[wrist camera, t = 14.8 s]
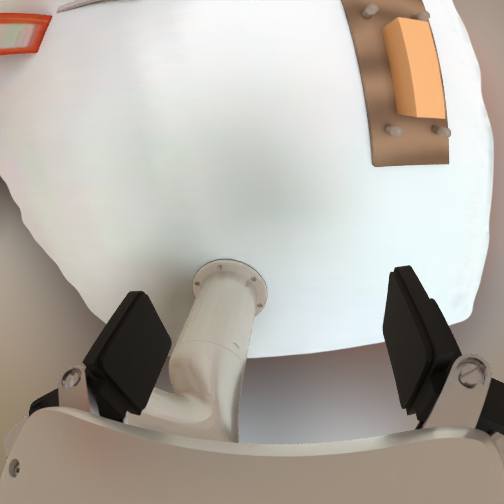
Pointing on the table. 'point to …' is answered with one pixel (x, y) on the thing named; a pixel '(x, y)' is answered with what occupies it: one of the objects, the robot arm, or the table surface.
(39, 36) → the file binder
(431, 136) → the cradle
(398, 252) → the table surface
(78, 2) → the caliper
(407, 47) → the jaw block
